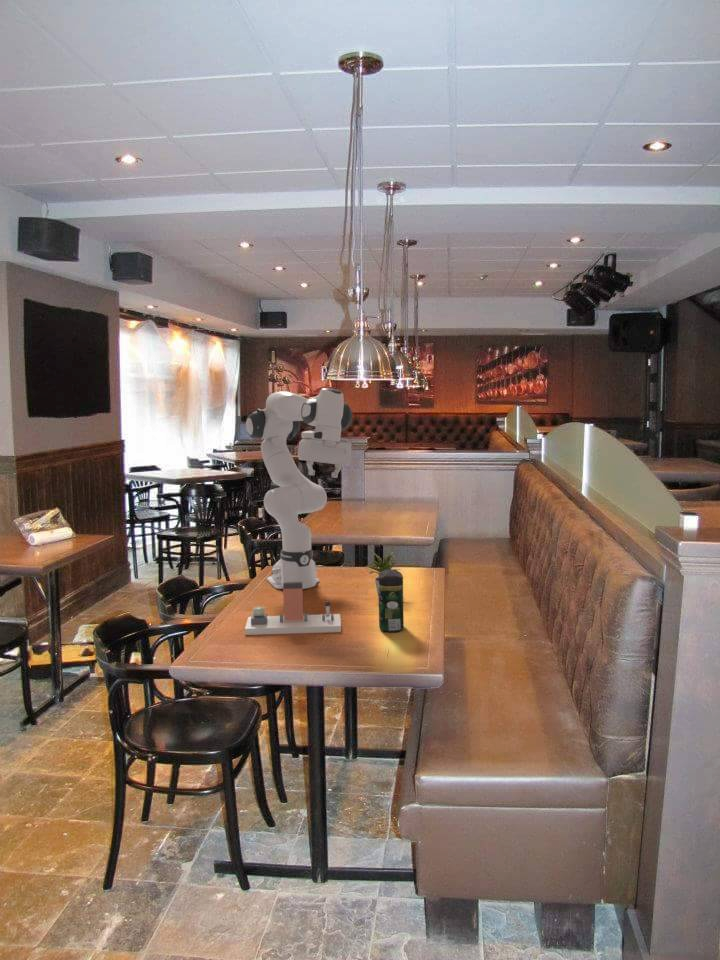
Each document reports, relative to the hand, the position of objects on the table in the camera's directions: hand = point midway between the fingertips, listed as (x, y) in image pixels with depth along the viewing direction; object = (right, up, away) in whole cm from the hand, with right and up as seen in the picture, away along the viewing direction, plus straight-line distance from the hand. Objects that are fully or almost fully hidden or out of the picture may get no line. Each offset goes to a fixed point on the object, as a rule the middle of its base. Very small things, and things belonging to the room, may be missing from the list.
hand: (323, 476), depth 247 cm
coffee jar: (+22, -49, -15) cm, 56 cm away
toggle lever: (+2, -46, -13) cm, 48 cm away
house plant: (+21, -44, +23) cm, 54 cm away
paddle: (-9, -46, -13) cm, 49 cm away
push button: (-20, -45, -14) cm, 51 cm away
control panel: (-9, -49, -13) cm, 51 cm away
